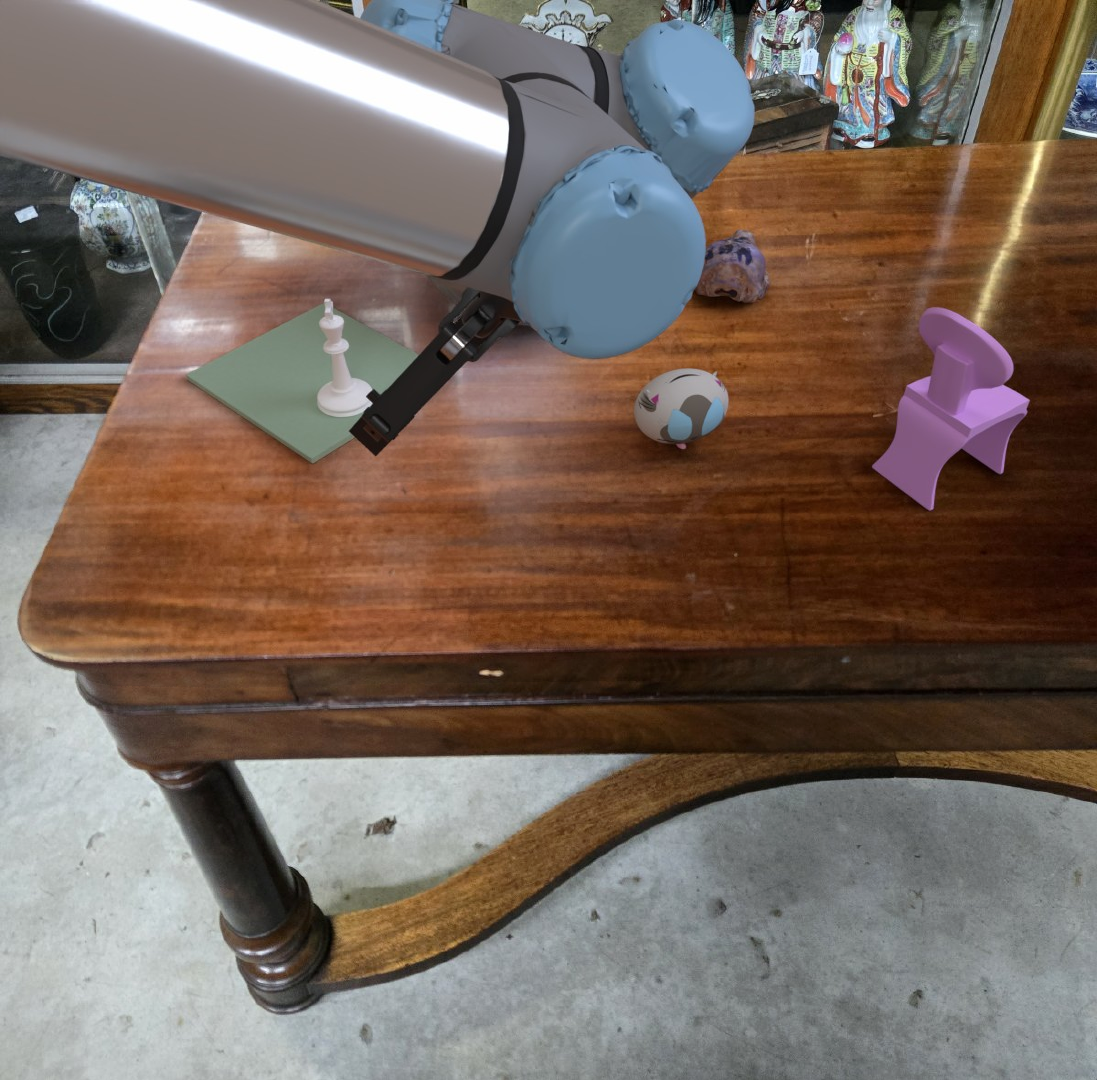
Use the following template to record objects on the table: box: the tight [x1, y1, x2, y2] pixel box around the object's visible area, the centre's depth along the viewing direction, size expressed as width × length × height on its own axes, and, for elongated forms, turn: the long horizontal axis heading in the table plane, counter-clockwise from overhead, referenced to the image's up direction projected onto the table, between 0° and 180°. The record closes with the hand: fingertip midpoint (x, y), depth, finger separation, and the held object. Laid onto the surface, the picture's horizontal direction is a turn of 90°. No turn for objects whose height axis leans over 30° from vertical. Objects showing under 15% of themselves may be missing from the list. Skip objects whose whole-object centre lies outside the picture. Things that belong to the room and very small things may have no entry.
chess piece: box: [317, 298, 372, 417], centre depth 87 cm, size 5×5×10 cm
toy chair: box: [871, 306, 1031, 512], centre depth 79 cm, size 8×9×15 cm
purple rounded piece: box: [694, 229, 772, 304], centre depth 103 cm, size 12×8×6 cm, turn 154°
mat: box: [185, 302, 420, 465], centre depth 94 cm, size 16×18×1 cm
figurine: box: [633, 367, 730, 450], centre depth 85 cm, size 8×6×7 cm
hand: (417, 386), depth 80 cm, fingers open, 13 cm apart
